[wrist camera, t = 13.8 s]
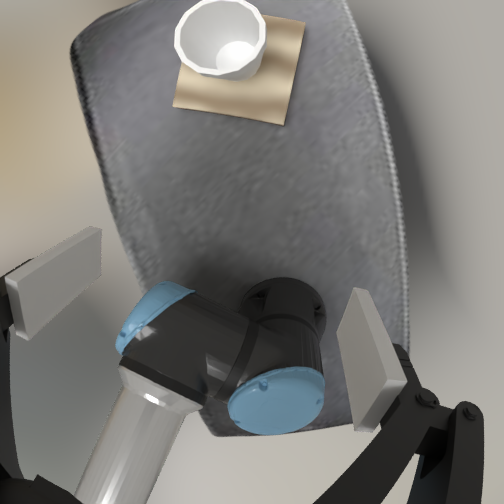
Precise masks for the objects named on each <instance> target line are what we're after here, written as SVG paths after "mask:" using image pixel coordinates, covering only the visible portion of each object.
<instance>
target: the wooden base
mask: <svg viewBox="0 0 504 504" xmlns="http://www.w3.org/2000/svg"><path fill="white" fill-rule="evenodd" d="M261 16H262V18H263V19H264V21H265V23H266V28H267V48H266V49H265V51H264V53H263V56H262V61H261V65H260V67H259V68H258V70H257V72H256V74H255V75H253V76H252V77H250V78H249V79H248V80H244V81H239V82H235V81H230V80H225V79H217V78H211V77H204V76H202V75H201V74H199V73H198V72H196V71H195V70H193V69H192V68H190V67H189V66H187V65H186V64H184V63H183V62H182V64H181V68H180V73H179V77H178V82H177V87H176V91H175V96H174V101H173V106H172V107H176V108H180V109H188V110H195V111H203V112H210V113H216V114H222V115H229V116H234V117H240V118H246V119H251V120H256V121H261V122H266V123H271V124H276V125H281V126H284V122H285V118H286V113H287V109H288V104H289V99H290V95H291V90H292V86H293V81H294V76H295V72H296V67H297V63H298V58H299V53H300V49H301V44H302V39H303V35H304V30H305V24H306V22H301V21H296V20H291V19H285V18H280V17H274V16H267V15H261Z"/></svg>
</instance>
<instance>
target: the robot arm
mask: <svg viewBox="0 0 504 504" xmlns="http://www.w3.org/2000/svg"><path fill="white" fill-rule="evenodd" d="M101 235H102V229H100V228H96V227H92V226H90V227H88V228H86V229H84V230H83V231H80V232H79V233H77V234H75V235H73V236H71V237H70V238H68V239H66V240H64V241H63V242H61V243H59V244H57V245H56V246H54V247H52V248H50V249H49V250H47V251H45V252H44V253H42V254H40V255H39V256H37V257H35V258H33V259H29V260H27V261H26V262H24V263H22V264H21V265H19V266H18V267H16V268H15V269H13V270H11V271H10V272H8V273H6V274H5V275H3V276H2V277H0V504H146V503H147V500H148V498H149V496H150V494H151V492H152V490H153V487H154V485H155V483H156V481H157V478H158V476H159V474H160V472H161V469H162V467H163V465H164V463H165V461H166V459H167V456H168V454H169V452H170V450H171V447H172V445H173V443H174V441H175V439H176V436H177V434H178V432H179V429H180V427H181V425H182V423H183V421H184V418H185V416H186V415H188V414H189V413H192V412H194V411H197V410H200V409H202V408H203V406H204V404H205V402H206V399H207V397H208V396H209V397H211V398H214V399H216V400H219V401H221V402H223V403H226V404H228V406H227V407H228V412H229V415H230V417H231V419H232V420H234V422H235V424H236V425H237V426H239V427H240V428H242V429H244V430H246V431H248V432H251V433H255V434H261V435H279V434H284V433H287V432H293V431H296V430H298V429H301V428H303V427H304V426H306V425H308V424H309V423H310V422H312V421H313V420H314V419H315V418H316V417H317V416H318V414H319V413H320V411H321V409H322V407H323V404H324V388H325V380H324V376H323V368H322V361H321V354H320V347H319V342H320V340H321V337H322V335H323V333H324V330H325V326H326V313H325V308H324V304H323V301H322V299H321V297H320V296H319V295H318V293H317V292H316V291H315V290H314V289H313V288H312V287H310V286H309V285H307V284H306V283H304V282H301V281H299V280H296V279H291V278H274V279H269V280H266V281H263V282H261V283H259V284H257V285H256V286H254V287H253V288H252V289H251V290H250V291H249V292H248V293H247V294H246V296H245V297H244V299H243V301H242V303H241V307H240V310H239V313H237V312H235V311H233V310H231V309H229V308H226V307H224V306H222V305H220V304H218V303H216V302H214V301H212V300H210V299H208V298H206V297H204V296H202V295H201V294H199V293H197V291H195V290H190V289H188V288H186V287H183V286H181V285H179V284H177V283H174V282H172V281H163V282H160V283H158V284H156V285H155V286H154V287H152V288H151V289H150V290H149V291H148V292H147V293H146V294H145V295H144V296H143V297H142V299H141V300H140V301H139V302H138V303H137V305H136V306H135V307H134V309H133V310H132V312H131V313H130V315H129V316H128V318H127V319H126V321H125V323H124V325H123V327H122V328H123V329H122V330H121V332H120V333H119V335H118V337H117V340H116V345H115V346H116V349H117V351H118V352H119V354H121V355H123V357H122V359H121V361H120V363H119V366H118V369H119V372H120V375H121V378H122V387H121V389H120V391H119V394H118V396H117V398H116V400H115V402H114V404H113V406H112V408H111V411H110V413H109V415H108V417H107V419H106V422H105V424H104V426H103V428H102V430H101V433H100V435H99V437H98V439H97V442H96V444H95V446H94V449H93V451H92V453H91V455H90V458H89V460H88V462H87V465H86V467H85V469H84V472H83V474H82V476H81V479H80V481H79V484H78V486H77V489H76V491H75V494H74V496H73V495H72V494H71V493H69V492H68V491H66V490H64V489H62V488H60V487H59V486H57V485H55V484H53V483H51V482H49V481H48V480H46V479H44V478H43V477H41V476H39V475H37V476H36V478H35V479H34V481H32V480H27V479H24V477H23V475H22V472H21V470H20V468H19V464H18V459H17V452H16V445H15V439H14V431H13V421H12V412H11V411H12V410H11V395H10V364H9V363H10V331H9V327H10V326H11V325H12V324H13V323H14V327H15V331H16V335H18V336H20V337H22V338H24V339H26V340H28V341H29V340H30V339H31V338H32V337H33V336H34V335H35V334H36V333H38V332H39V331H40V330H41V329H42V328H43V327H44V326H45V325H46V324H47V323H48V322H49V321H50V320H51V319H53V318H54V317H55V316H56V315H57V314H58V313H59V312H60V311H61V310H62V309H63V308H65V307H66V306H67V305H68V304H69V303H70V302H71V301H72V300H73V299H75V298H76V297H77V296H78V295H79V294H80V293H81V292H83V291H84V290H85V289H86V288H87V287H88V286H90V285H91V284H92V283H93V282H94V281H95V280H97V279H98V278H99V277H100V276H101ZM336 334H337V338H338V343H339V348H340V353H341V358H342V363H343V368H344V374H345V379H346V384H347V390H348V395H349V401H350V407H351V413H352V419H353V425H354V431H359V432H373V431H374V430H375V428H376V427H377V426H378V424H379V423H380V425H381V430H380V432H379V433H378V434H377V435H376V437H375V438H374V439H373V440H372V442H371V443H370V444H369V445H368V446H367V448H366V449H365V450H364V451H363V452H362V453H361V454H360V456H359V457H358V458H357V459H356V460H355V461H354V462H353V463H352V465H351V466H350V467H349V468H348V469H347V470H346V471H345V472H344V473H343V474H342V475H341V476H340V477H339V478H338V480H337V481H335V483H334V484H333V485H332V486H331V487H330V488H329V489H328V490H327V491H325V493H324V494H322V495H321V496H320V497H319V498H318V499H317V500H316V501H315V502H314V503H313V504H381V503H382V501H383V500H384V498H385V497H386V496H387V494H388V493H389V491H390V490H391V489H392V487H393V486H394V484H395V483H396V481H397V480H398V478H399V477H400V475H401V474H402V472H403V471H404V469H405V468H406V466H407V465H408V463H409V461H410V460H411V458H412V456H413V455H414V453H415V454H419V455H420V457H419V461H418V465H417V469H416V474H415V477H414V481H413V485H412V488H411V491H410V495H409V498H408V501H407V504H481V497H482V487H483V470H484V419H483V414H482V412H481V411H480V409H479V408H478V407H477V406H476V405H475V404H472V403H471V402H467V401H462V402H460V403H459V404H458V405H457V406H456V407H455V409H450V408H447V407H444V406H441V405H439V404H440V403H439V400H438V398H437V397H436V396H435V394H434V393H432V392H431V391H430V390H428V389H425V388H422V386H421V384H420V382H419V379H418V377H417V375H416V372H415V370H414V368H413V366H412V364H411V362H410V359H409V357H408V355H407V352H406V351H405V350H404V349H403V348H402V347H401V346H400V345H399V344H394V343H391V340H390V338H389V336H388V333H387V331H386V329H385V327H384V324H383V322H382V320H381V318H380V315H379V313H378V311H377V309H376V307H375V305H374V302H373V300H372V298H371V296H370V294H369V292H368V290H365V289H360V288H356V287H354V288H353V291H352V293H351V296H350V299H349V301H348V304H347V307H346V309H345V312H344V314H343V317H342V320H341V322H340V325H339V327H338V330H337V332H336Z"/></svg>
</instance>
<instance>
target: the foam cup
mask: <svg viewBox="0 0 504 504" xmlns="http://www.w3.org/2000/svg"><path fill="white" fill-rule="evenodd" d="M174 47H175V49H176V51H177V53H178V55H179V57H180V59H181V61H182V62H183V63H184V64H186V65H187V66H189V67H190V68H192V69H193V70H195V71H196V72H198V73H199V74H201V75H202V76H204V77H211V78H217V79H225V80H230V81H235V82H239V81H244V80H248V79H249V78H250V77H252V76H253V75H255V74H256V72H257V70H258V68H259V67H260V65H261V61H262V56H263V53H264V51H265V49H266V48H267V28H266V23H265V21H264V19H263V18H262V16H261V14H260V13H259V11H258V9H257V8H256V7H255V6H253V5H251V4H250V3H248V2H246V1H245V0H203V1H200V2H199V3H197V4H196V5H195V6H193V7H192V8H191V9H189V10H188V11H187V12H185V13H184V15H183V17H182V18H181V20H180V22H179V24H178V25H177V27H176V29H175V44H174Z"/></svg>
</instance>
